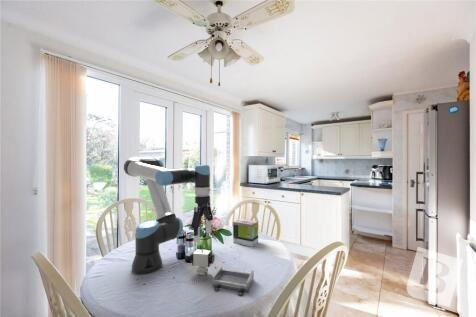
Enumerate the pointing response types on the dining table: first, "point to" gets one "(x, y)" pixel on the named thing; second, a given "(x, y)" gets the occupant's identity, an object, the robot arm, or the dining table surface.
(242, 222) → the tea box
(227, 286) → the wheeled cart
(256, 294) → the dining table surface
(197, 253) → the pneumatic valve
